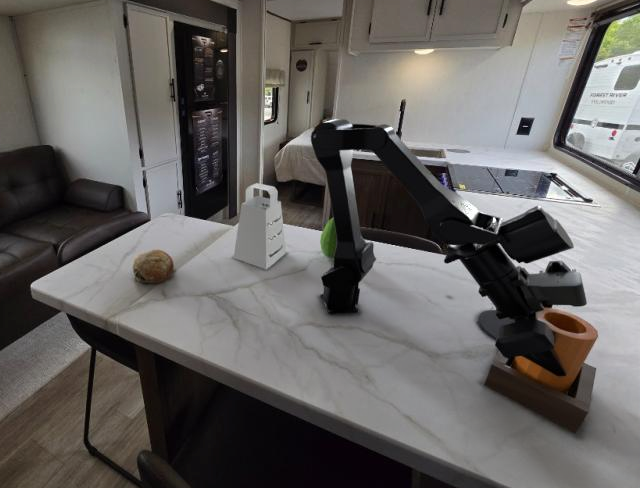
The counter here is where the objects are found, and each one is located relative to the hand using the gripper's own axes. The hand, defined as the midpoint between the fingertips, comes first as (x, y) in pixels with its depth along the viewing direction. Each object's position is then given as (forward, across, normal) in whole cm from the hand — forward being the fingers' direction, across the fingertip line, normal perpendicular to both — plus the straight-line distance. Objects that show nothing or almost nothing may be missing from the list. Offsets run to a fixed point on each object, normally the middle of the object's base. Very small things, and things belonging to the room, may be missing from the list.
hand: (561, 360), depth 51 cm
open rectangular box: (+4, 0, +6) cm, 7 cm away
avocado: (-31, +18, +32) cm, 48 cm away
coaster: (+1, +14, +8) cm, 16 cm away
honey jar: (+4, 0, +6) cm, 7 cm away
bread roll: (-50, -17, +59) cm, 79 cm away
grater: (-38, +7, +48) cm, 62 cm away
